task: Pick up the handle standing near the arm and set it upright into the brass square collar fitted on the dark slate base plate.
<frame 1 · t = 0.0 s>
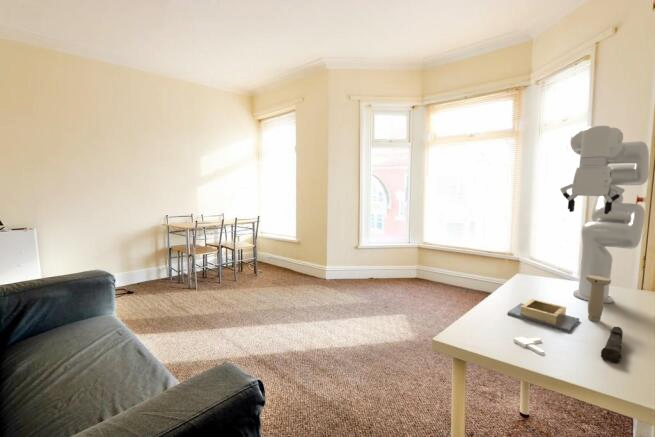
hand: (588, 212, 111), 37 cm above the table, tool pointing down, fingers open, 9 cm apart
corner connector: (535, 348, 92), on the table
handle: (593, 320, 110), on the table
hand tool: (611, 350, 91), on the table
collar base: (542, 317, 111), on the table
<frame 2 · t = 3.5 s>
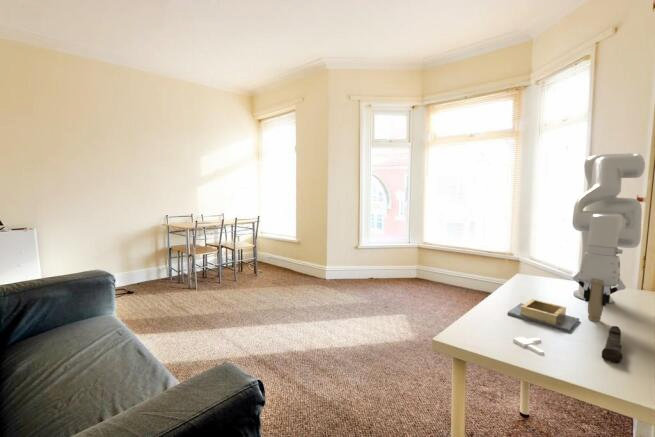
hand: (595, 302, 109), 6 cm above the table, tool pointing down, fingers closed on handle, 3 cm apart
handle: (593, 320, 110), on the table, touching gripper
everything else where it was.
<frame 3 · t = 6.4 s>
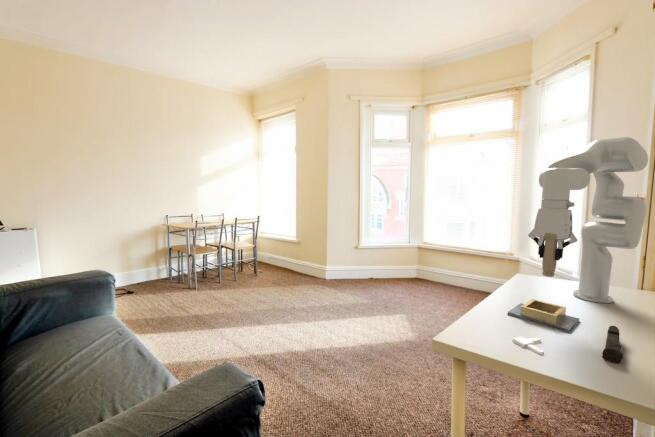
hand: (549, 258, 108), 21 cm above the table, tool pointing down, fingers closed on handle, 3 cm apart
handle: (548, 276, 109), point 15 cm above the table, touching gripper
everything else where it was.
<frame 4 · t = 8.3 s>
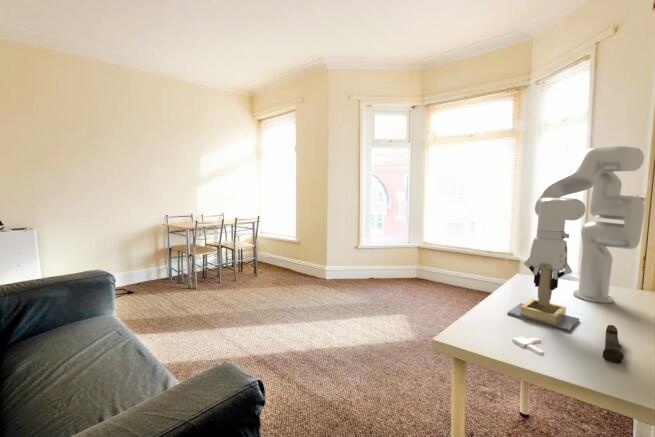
hand: (545, 287, 110), 11 cm above the table, tool pointing down, fingers closed on handle, 3 cm apart
handle: (543, 305, 110), point 5 cm above the table, touching gripper
everything else where it was.
when the fingers open (9 cm above the table, at t = 9.6 s): handle drops 1 cm, resting on collar base.
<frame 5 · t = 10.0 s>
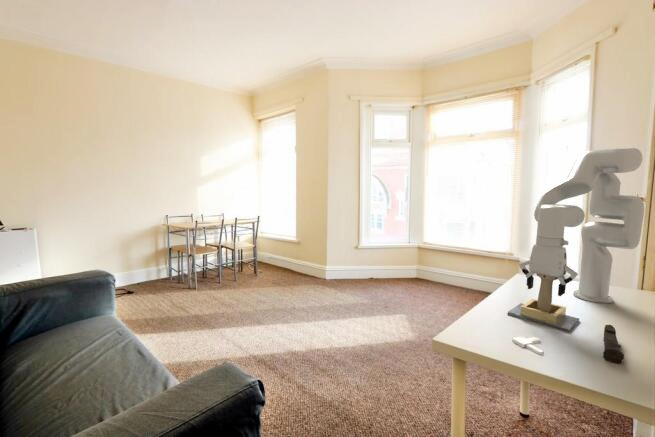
hand: (544, 291, 110), 10 cm above the table, tool pointing down, fingers open, 8 cm apart
handle: (542, 315, 111), point 1 cm above the table, touching collar base
everything else where it was.
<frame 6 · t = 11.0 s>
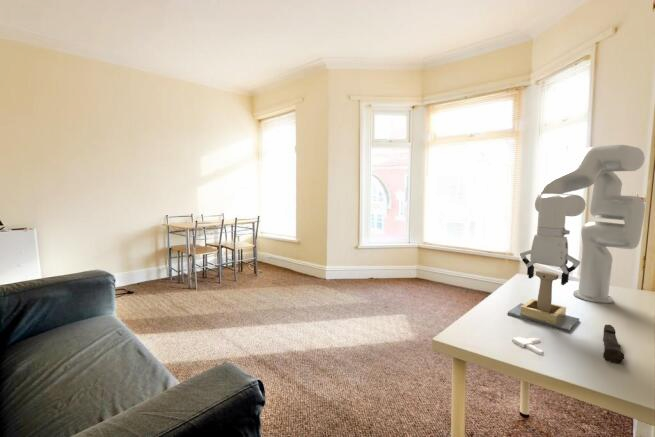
hand: (546, 280, 110), 13 cm above the table, tool pointing down, fingers open, 9 cm apart
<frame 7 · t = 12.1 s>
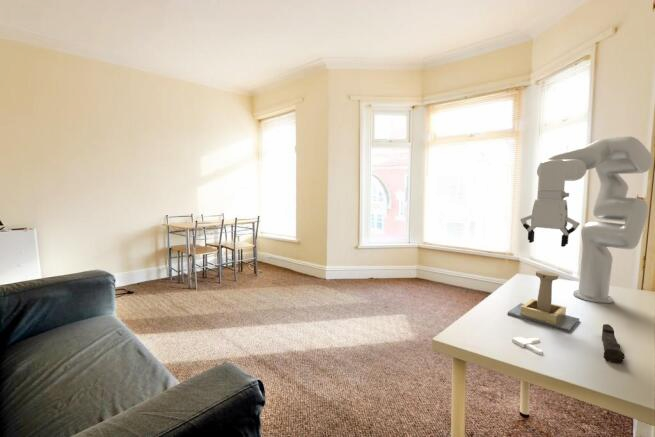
hand: (546, 244, 112), 25 cm above the table, tool pointing down, fingers open, 9 cm apart
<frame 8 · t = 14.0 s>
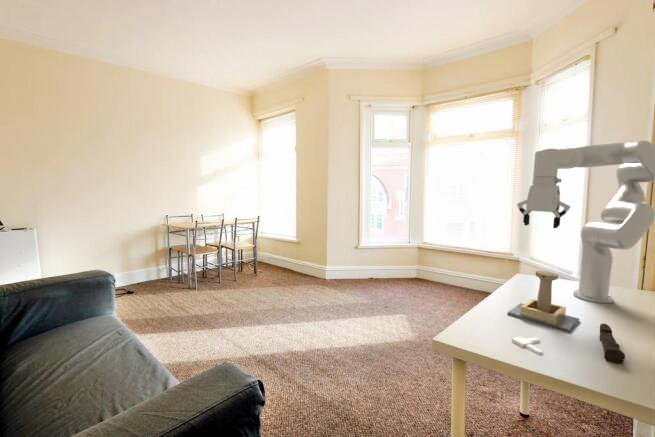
hand: (540, 226, 122), 30 cm above the table, tool pointing down, fingers open, 9 cm apart
at the end: handle 0.2 cm off-centre on the collar base, point 0.8 cm above the collar base's base; handle tilted 0°; the gripper is holding nothing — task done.
